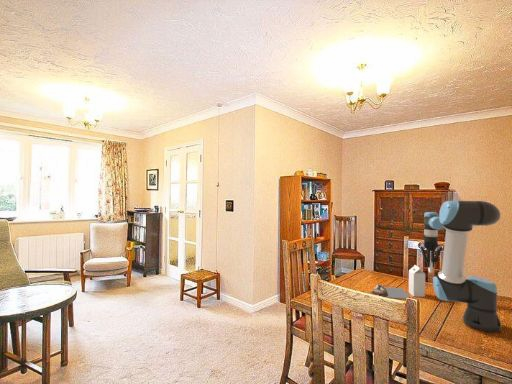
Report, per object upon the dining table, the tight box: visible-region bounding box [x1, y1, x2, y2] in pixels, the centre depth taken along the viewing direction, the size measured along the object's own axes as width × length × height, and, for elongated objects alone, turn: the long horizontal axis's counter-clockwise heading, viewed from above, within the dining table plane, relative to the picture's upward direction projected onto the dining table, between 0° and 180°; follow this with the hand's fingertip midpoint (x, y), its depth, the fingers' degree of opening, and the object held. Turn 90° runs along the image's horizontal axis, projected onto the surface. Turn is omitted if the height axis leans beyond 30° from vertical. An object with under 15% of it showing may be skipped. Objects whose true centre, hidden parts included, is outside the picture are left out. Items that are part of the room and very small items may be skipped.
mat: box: [385, 286, 411, 300], centre depth 182 cm, size 20×17×1 cm
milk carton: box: [408, 264, 426, 298], centre depth 179 cm, size 7×7×19 cm
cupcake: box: [370, 284, 388, 297], centre depth 167 cm, size 10×10×10 cm
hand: (430, 272), depth 178 cm, fingers closed
